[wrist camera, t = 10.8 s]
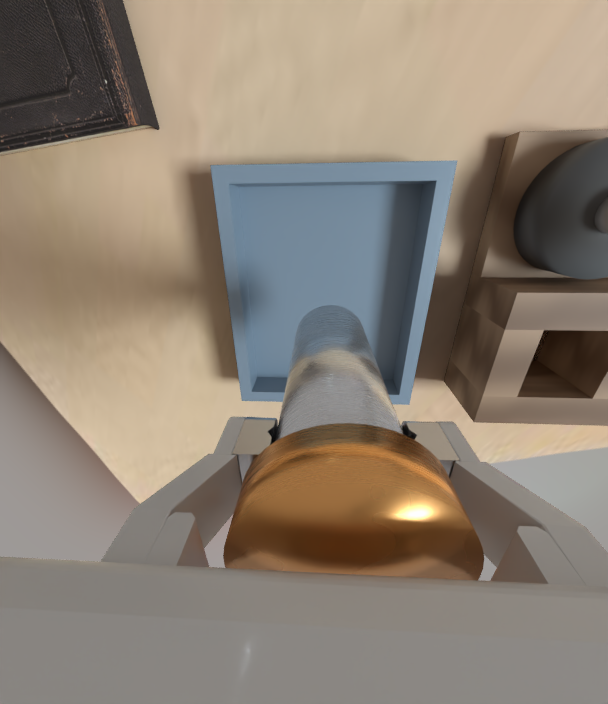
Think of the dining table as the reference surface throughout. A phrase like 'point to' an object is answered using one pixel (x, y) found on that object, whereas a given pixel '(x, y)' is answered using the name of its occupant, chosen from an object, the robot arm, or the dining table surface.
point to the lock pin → (347, 475)
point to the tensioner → (539, 287)
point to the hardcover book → (68, 73)
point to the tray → (329, 259)
